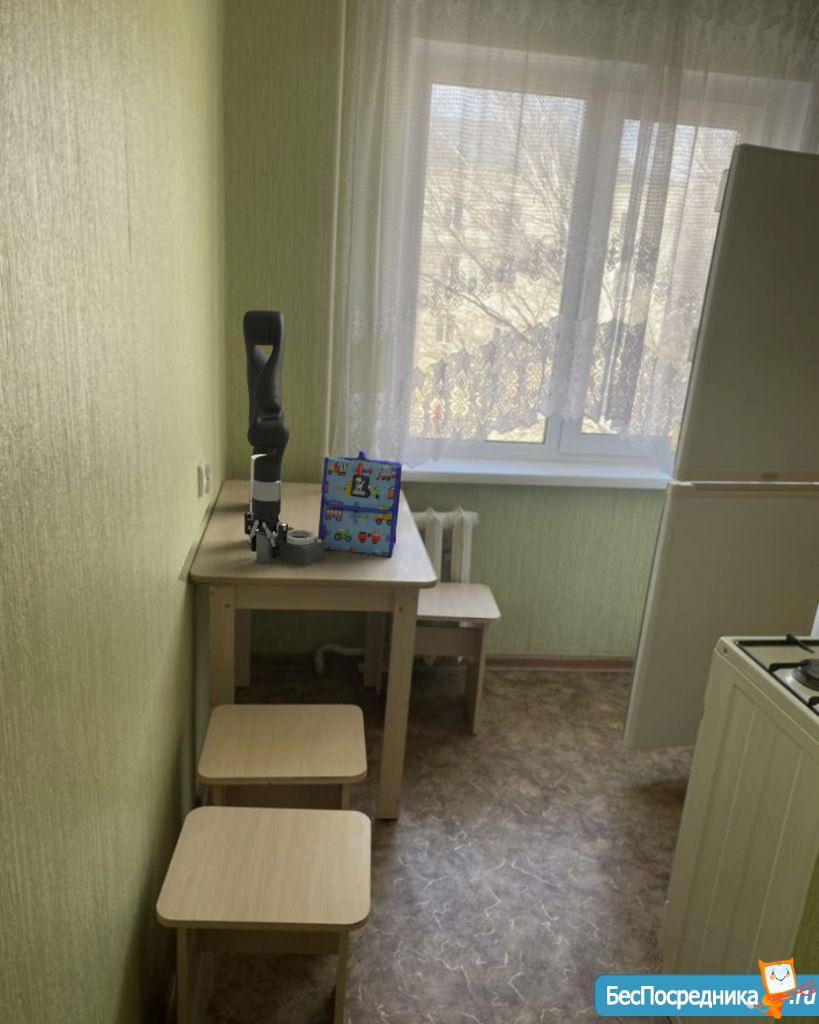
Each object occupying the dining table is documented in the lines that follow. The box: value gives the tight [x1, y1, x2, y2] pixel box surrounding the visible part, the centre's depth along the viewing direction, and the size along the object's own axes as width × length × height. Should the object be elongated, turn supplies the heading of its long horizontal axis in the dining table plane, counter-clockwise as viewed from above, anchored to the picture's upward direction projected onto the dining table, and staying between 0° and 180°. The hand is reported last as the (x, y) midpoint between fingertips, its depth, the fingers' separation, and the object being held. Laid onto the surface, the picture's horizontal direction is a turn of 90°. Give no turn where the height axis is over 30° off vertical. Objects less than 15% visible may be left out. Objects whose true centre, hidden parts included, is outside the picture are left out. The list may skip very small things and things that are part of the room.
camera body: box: [274, 526, 326, 567], centre depth 209 cm, size 12×8×7 cm, turn 56°
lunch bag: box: [317, 449, 403, 557], centre depth 218 cm, size 22×14×29 cm, turn 87°
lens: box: [255, 530, 274, 565], centre depth 204 cm, size 4×4×9 cm
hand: (264, 554), depth 205 cm, fingers open, 7 cm apart
